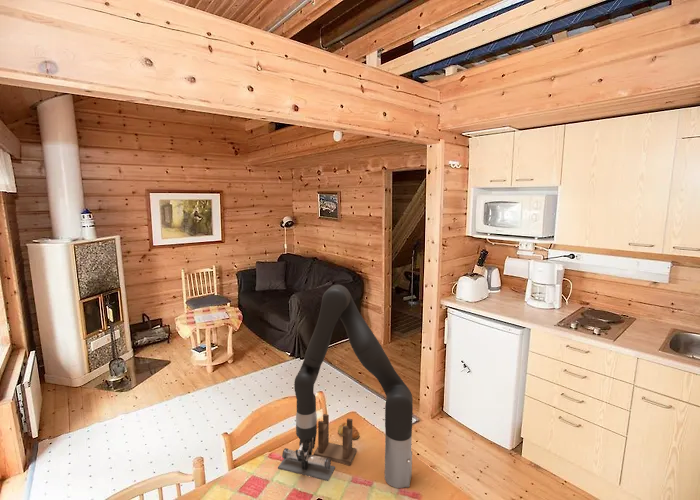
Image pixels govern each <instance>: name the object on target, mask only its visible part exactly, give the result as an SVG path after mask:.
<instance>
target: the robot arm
mask: <svg viewBox="0 0 700 500" xmlns="http://www.w3.org/2000/svg"><path fill="white" fill-rule="evenodd" d="M339 319H340V321H341V323H342V324H343V327H344V329H345V331H346V332H345V333H346V335H347V338H348V341H349V344H350V346H351V349H352V351H353V353H354V354H355V355H356V357H357V359H358V360H359V362H360V364H361V365H362V366H363V368H365V369H366V370H367V371H368V372H369V373H370V374H371V375H373V377H374V378H376V380H377V381H378V383H379V384H380V386H381V388H382V390H383V391H384V394H385V403H384V405H385V407H384V408H385V409H384V410H385V411H384V427H385V428H384V429H385V437H384V438H385V439H384V440H385V441H384V443H385V445H384V480H385V482H386V483H387V485H389V486H391V487H392V488H394V489H395V488H396V489H397V488H398V489H403V488H410V485H411V479H412V473H413V471H412V470H413V469H412V468H413V466H412V465H413V451H412V439H413V435H412V434H413V433H412V432H413V413H414V411H413V408H414V407H413V403H414V402H413V395H412V394H413V393H412V392H411V390H410V388H409V387H408V386H407V384H406V383H405V382H404V380H402V378H401V377H400V376H399V374H398V373H397V371H396V369H395V368H394V366H393V365H392V363H391V360H390V359H389V357H388V355H387V354H386V351H385V350H384V348H383V346H382V345H381V343H380V342H379V340H378V339H377V336H376V335H375V334H374V332H373V330H372V329H371V327H370V326H369V325H368V323H367V322H366V320H365V319H364V318H363V316H362V315H361V313H360V311H359V309H358V307H357V305H356V303H355V300H354V298H353V297H352V294H351V293H350V291H349V289H348V288H347V287H345V286H344V285H342V284H333V285H331V286H330V287H329V288H328V289H326V290H325V291H324V293H323V294H322V299H321V303H320V310H319V314H318V318H317V322H316V325H315V327H314V329H313V333H312V334H311V335H312V336H311V338H310V340H309V342H308V346H307V349H306V350H305V353H304V356H303V362H302V364H301V366H300V369H299V371H298V373H297V374H296V376H295V378H294V384H293V385H294V387H293V388H294V392H295V393H294V394H295V398H296V413H295V435H296V437H297V438H298V439H299V448H298V449H296V450H295V451H296V456H297V459H298V461H299V462H301V467H302V469H304V470H307V469H308V454H311V455H313V453H314V449H315V445H316V439H317V435H318V423H317V422H318V420H317V418H318V417H317V398H316V395H315V393H314V387H315V384H316V381H317V379H318V377H319V376H318V375H319V373H320V369H321V366H322V364H323V362H324V360H325V357H326V355H327V352H328V349H329V347H330V343H331V339H332V335H333V332H334V329H335V327H336V325H337V323H338V321H339ZM304 454H305V455H306V456H304Z"/></svg>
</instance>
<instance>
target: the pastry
mask: <svg viewBox="0 0 700 500" xmlns="http://www.w3.org/2000/svg"><path fill="white" fill-rule="evenodd" d="M343 426H347V422H345V421H344V422H342V423H340V425H339V426H338V429H337V433H338V434H339V436H341V437H342V438H343ZM359 437H360V432H359V431H358V429H357V428H356V427H355V426H354V425H353V424H352V441H356V440H357V439H359Z"/></svg>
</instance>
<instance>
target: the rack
mask: <svg viewBox="0 0 700 500" xmlns="http://www.w3.org/2000/svg"><path fill="white" fill-rule="evenodd" d="M322 417H323V418H322V420H318V421H317V422H318V423H317V435H318V436H317V437H318V438H317V439H318V441H317V442H318V443H317V444H318V445H317V447H316V449H315V450H314V451H313V455H315V456H319V457H324V458H331V462H334V463H338V464H343V465H347V466H352V463H353V461H354V459H355V456H356V454H357V452H358V451H357V448H355V447H353V440H352V425H353V418H347V419H346V423H347V426H343V437H342V445H341V444H338V443H333V442H329V439H330V438H329V436H330V435H329V433H330V431H329V429H330V428H329V427H330V426H329V425H330V423H329V419H330V418H329V417H330V415H329V414H327V413H323V415H322Z"/></svg>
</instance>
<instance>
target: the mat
mask: <svg viewBox="0 0 700 500" xmlns="http://www.w3.org/2000/svg"><path fill="white" fill-rule="evenodd" d="M277 469H278V470H283V471H287V472H289V473H294V474H298V475H301V474H302V475H301V476H305V475H306V477H309V476H310V478H313V479H318V480H321V481H326V482H329V481H330V479H331V477H332V475H333V473H334V470H335V469H336V466H335V465H330V468H329V469H326V468H324V467H320V466H316V465H312V464H308V469H307V470H304V469H302V467H301V462H299V461H295V460H291V459H287V458H286V459H284V458H282V461H281V462H280V464H278V466H277Z"/></svg>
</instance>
